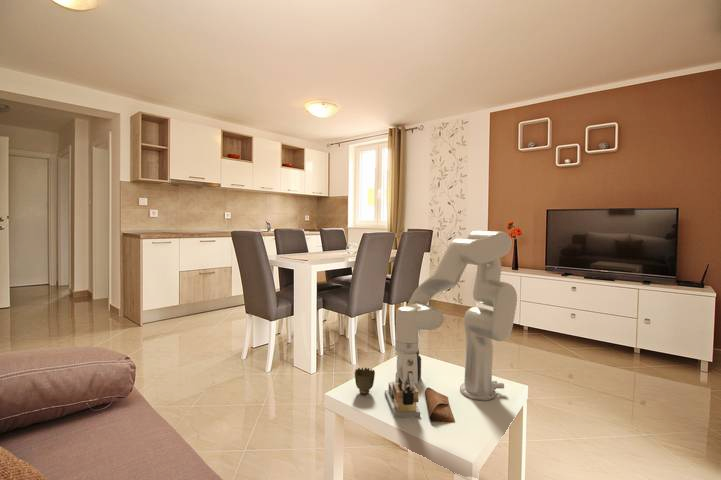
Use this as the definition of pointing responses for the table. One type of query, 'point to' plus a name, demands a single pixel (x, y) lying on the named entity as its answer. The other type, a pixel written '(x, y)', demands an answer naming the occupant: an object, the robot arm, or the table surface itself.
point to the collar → (398, 393)
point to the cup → (364, 380)
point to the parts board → (394, 410)
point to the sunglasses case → (438, 407)
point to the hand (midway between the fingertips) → (405, 398)
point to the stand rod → (392, 386)
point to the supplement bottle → (418, 365)
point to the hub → (405, 408)
